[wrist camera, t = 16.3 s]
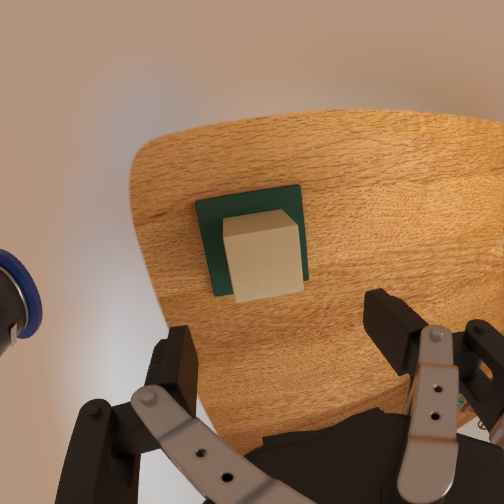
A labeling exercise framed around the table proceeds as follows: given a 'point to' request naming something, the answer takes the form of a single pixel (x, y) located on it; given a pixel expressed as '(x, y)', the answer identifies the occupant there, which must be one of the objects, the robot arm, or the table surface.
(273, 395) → the table surface
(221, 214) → the mat
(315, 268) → the table surface
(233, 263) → the block
